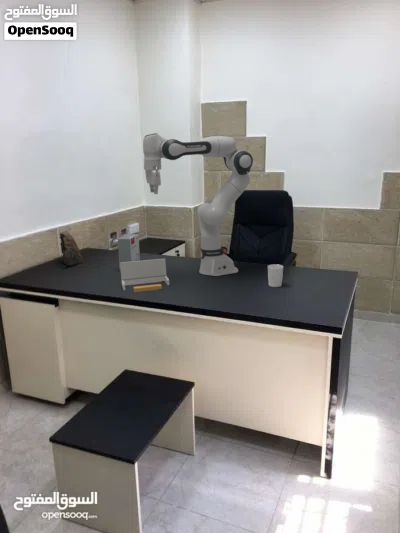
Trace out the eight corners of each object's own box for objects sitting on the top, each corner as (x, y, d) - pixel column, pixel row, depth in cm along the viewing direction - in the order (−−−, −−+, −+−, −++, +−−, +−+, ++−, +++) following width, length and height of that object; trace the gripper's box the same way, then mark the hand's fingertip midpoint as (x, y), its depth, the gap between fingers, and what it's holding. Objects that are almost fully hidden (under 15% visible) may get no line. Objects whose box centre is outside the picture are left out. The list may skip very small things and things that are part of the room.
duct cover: (166, 275, 226) (165, 274, 228) (165, 258, 225) (164, 258, 226) (121, 279, 220) (121, 279, 222) (120, 262, 219) (119, 262, 220)
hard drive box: (131, 272, 245) (129, 239, 240) (119, 272, 247) (116, 238, 241) (140, 265, 260) (138, 233, 254) (129, 264, 261) (126, 233, 256)
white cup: (273, 288, 211) (273, 269, 209) (264, 284, 218) (264, 265, 215) (285, 285, 215) (286, 267, 212) (276, 281, 222) (276, 263, 219)
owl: (67, 266, 262) (63, 234, 256) (55, 263, 270) (52, 232, 264) (84, 261, 271) (81, 231, 266) (72, 259, 279) (69, 229, 274)
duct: (166, 280, 228) (166, 275, 227) (169, 285, 220) (169, 279, 219) (121, 285, 222) (121, 280, 221) (123, 290, 214) (123, 284, 213)
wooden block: (160, 288, 217) (160, 283, 217) (161, 290, 214) (161, 285, 214) (133, 291, 214) (133, 286, 213) (134, 293, 211) (134, 288, 210)
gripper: (163, 166, 208) (164, 194, 212) (154, 165, 227) (156, 191, 231) (150, 167, 207) (152, 195, 210) (143, 165, 225) (144, 191, 229)
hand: (154, 193), depth 221 cm, fingers open, 8 cm apart
